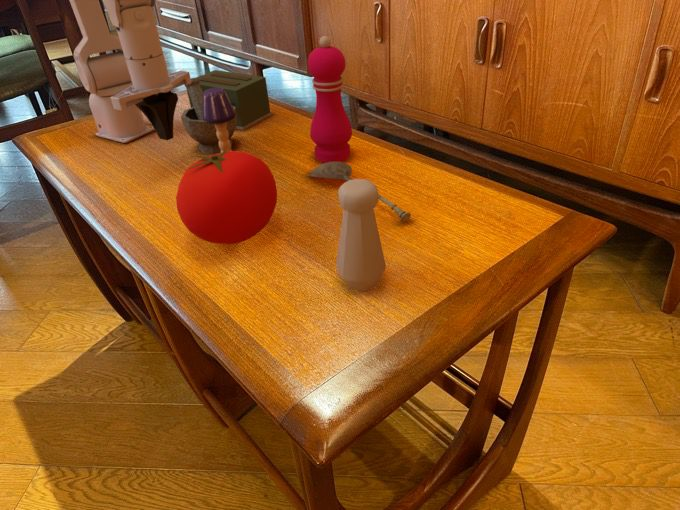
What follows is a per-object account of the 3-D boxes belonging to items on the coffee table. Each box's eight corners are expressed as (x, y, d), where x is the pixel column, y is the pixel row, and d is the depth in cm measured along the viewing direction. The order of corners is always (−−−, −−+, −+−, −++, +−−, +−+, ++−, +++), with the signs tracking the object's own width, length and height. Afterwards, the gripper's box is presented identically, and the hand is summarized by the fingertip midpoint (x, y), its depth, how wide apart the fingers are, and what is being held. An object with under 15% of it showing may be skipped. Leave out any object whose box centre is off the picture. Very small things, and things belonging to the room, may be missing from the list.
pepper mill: (338, 168, 85) (331, 43, 73) (304, 160, 89) (291, 39, 77) (360, 152, 90) (357, 32, 78) (327, 144, 93) (319, 29, 82)
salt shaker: (335, 268, 63) (328, 174, 55) (381, 263, 63) (380, 169, 55) (339, 298, 58) (332, 200, 50) (389, 294, 58) (389, 195, 51)
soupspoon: (335, 168, 87) (303, 181, 84) (332, 149, 85) (300, 163, 82) (423, 214, 71) (388, 233, 69) (423, 193, 70) (386, 211, 67)
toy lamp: (214, 198, 79) (189, 92, 69) (236, 186, 82) (215, 82, 72) (235, 206, 77) (213, 98, 67) (257, 193, 80) (238, 87, 70)
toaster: (187, 122, 107) (178, 83, 102) (222, 105, 114) (215, 68, 109) (238, 133, 100) (231, 92, 95) (272, 114, 107) (266, 76, 103)
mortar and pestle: (250, 147, 94) (239, 82, 87) (204, 163, 90) (189, 96, 83) (223, 131, 102) (210, 70, 95) (179, 144, 97) (163, 81, 90)
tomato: (299, 235, 69) (289, 158, 62) (203, 272, 64) (181, 192, 57) (261, 199, 78) (249, 129, 71) (174, 229, 72) (152, 155, 66)
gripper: (122, 71, 71) (149, 159, 79) (196, 45, 81) (213, 126, 89) (91, 65, 74) (119, 151, 82) (166, 42, 84) (185, 120, 92)
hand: (166, 138), depth 86 cm, fingers closed
